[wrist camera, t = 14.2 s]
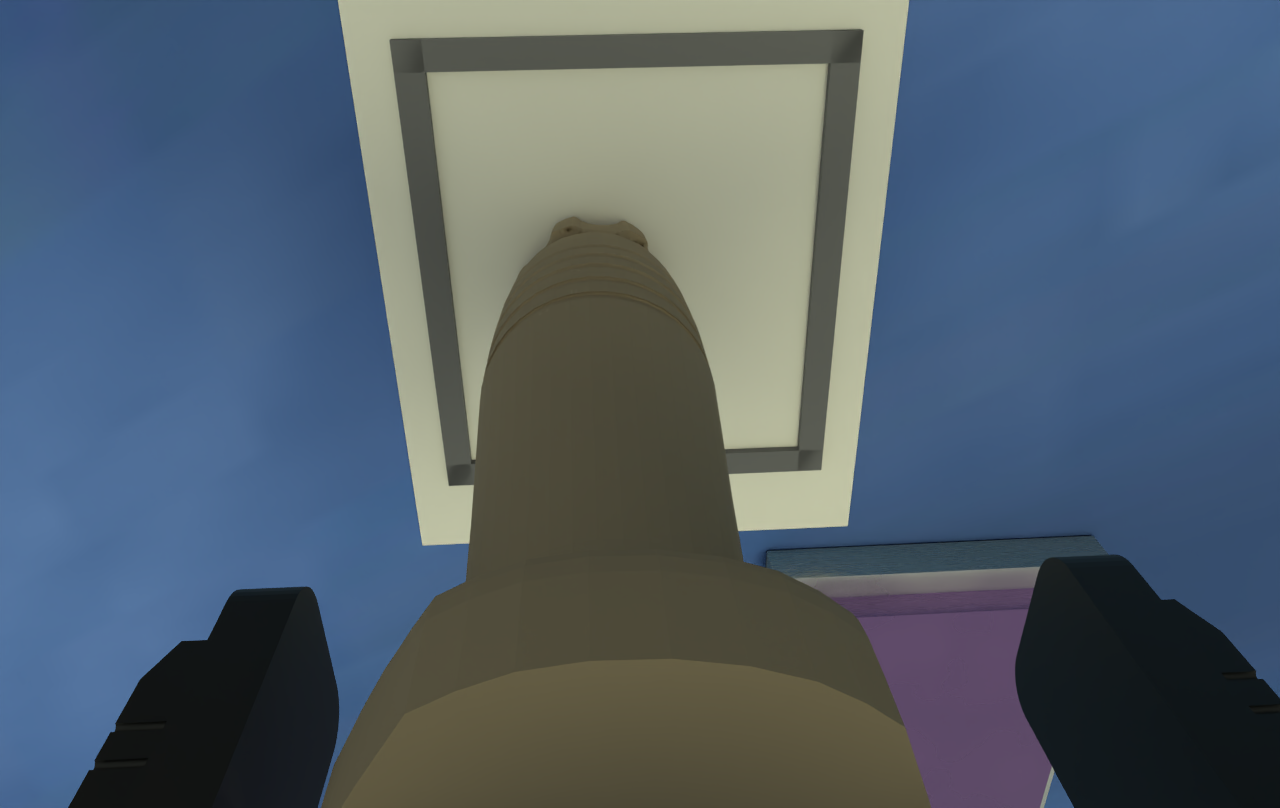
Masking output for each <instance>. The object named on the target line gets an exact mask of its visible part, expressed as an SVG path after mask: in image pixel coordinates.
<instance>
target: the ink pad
mask: <svg viewBox="0 0 1280 808" xmlns="http://www.w3.org/2000/svg"><path fill="white" fill-rule="evenodd" d="M1094 555H1109V554H1108V553H1107V552H1106V551H1105V550H1104V548H1103V547H1102V546H1101V545H1100V544H1099V542H1098V541H1097V540H1096V539H1095V537H1094V536H1076V537H1054V538H1033V539H1011V540H990V541H968V542H947V543H926V544H904V545H883V546H861V547H840V548H818V549H797V550H776V551H767V556H766V568H769V569H773V570H777V571H780V572H782V573H784V574H786V575H788V576H790V577H792V578H794V579H796V580H798V581H800V582H802V583H804V584H806V585H808V586H810V587H812V588H814V589H816V590H819V591H820V592H822V593H823V594H825V595H826V596H828V597H829V598H831V599H832V600H834V601H835V602H837V603H838V604H839V605H841V606H842V607H844V608H845V609H847V610H848V611H850V612H851V613H853V614H854V616H855V617H856V618H857V619H858V620H859V622H860V623H861V625H862V627H863V629H864V631H865V632H866V634H867V636H868V638H869V640H870V643H871V645H872V647H873V650H874V652H875V654H876V657H877V659H878V661H879V664H880V666H881V669H882V671H883V673H884V676H885V678H886V681H887V683H888V686H889V688H890V691H891V693H892V696H893V698H894V701H895V703H896V706H897V708H898V711H899V713H900V716H901V718H902V721H903V723H904V726H905V728H906V731H907V734H908V737H909V740H910V743H911V746H912V750H913V753H914V756H915V759H916V762H917V765H918V768H919V771H920V774H921V777H922V780H923V783H924V786H925V789H926V792H927V795H928V798H929V802H930V805H931V808H1044V805H1045V802H1046V798H1047V795H1048V791H1049V788H1050V785H1051V781H1052V778H1053V774H1054V769H1053V767H1052V765H1051V764H1050V762H1049V760H1048V758H1047V756H1046V754H1045V752H1044V751H1043V749H1042V747H1041V745H1040V743H1039V741H1038V740H1037V738H1036V736H1035V734H1034V732H1033V730H1032V728H1031V727H1030V725H1029V723H1028V721H1027V719H1026V717H1025V715H1024V713H1023V710H1022V708H1021V705H1020V702H1019V698H1018V694H1017V689H1016V682H1015V662H1016V656H1017V652H1018V648H1019V644H1020V640H1021V636H1022V633H1023V629H1024V625H1025V621H1026V617H1027V613H1028V609H1029V606H1030V602H1031V598H1032V594H1033V590H1034V586H1035V582H1036V578H1037V575H1038V571H1039V569H1040V567H1041V565H1042V563H1043V562H1044V561H1045V560H1046V559H1048V558H1051V557H1070V556H1094Z"/></svg>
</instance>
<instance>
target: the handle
mask: <svg viewBox="0 0 1280 808" xmlns="http://www.w3.org/2000/svg"><path fill="white" fill-rule="evenodd" d="M321 808H931V805H930V802H929V798H928V795H927V792H926V789H925V786H924V783H923V780H922V777H921V774H920V771H919V768H918V765H917V762H916V759H915V756H914V753H913V750H912V746H911V743H910V740H909V737H908V734H907V731H906V728H905V726H904V723H903V721H902V718H901V716H900V713H899V711H898V708H897V706H896V703H895V701H894V698H893V696H892V693H891V691H890V688H889V686H888V683H887V681H886V678H885V676H884V673H883V671H882V669H881V666H880V664H879V661H878V659H877V657H876V654H875V652H874V650H873V647H872V645H871V643H870V640H869V638H868V636H867V634H866V632H865V631H864V629H863V627H862V625H861V623H860V622H859V620H858V619H857V618H856V617H855V616H854V614H853V613H851V612H850V611H848V610H847V609H845V608H844V607H842V606H841V605H839V604H838V603H837V602H835V601H834V600H832V599H831V598H829V597H828V596H826V595H825V594H823V593H822V592H820V591H819V590H816V589H814V588H812V587H810V586H808V585H806V584H804V583H802V582H800V581H798V580H796V579H794V578H792V577H790V576H788V575H786V574H784V573H782V572H780V571H777V570H773V569H769V568H765V567H761V566H757V565H753V564H749V563H746V562H743V556H742V550H741V545H740V539H739V533H738V527H737V522H736V516H735V510H734V504H733V499H732V492H731V486H730V479H729V473H728V467H727V460H726V454H725V448H724V441H723V435H722V428H721V422H720V416H719V409H718V403H717V397H716V390H715V384H714V381H713V377H712V373H711V370H710V367H709V363H708V360H707V357H706V353H705V350H704V347H703V343H702V340H701V337H700V334H699V332H698V328H697V326H696V324H695V321H694V319H693V317H692V315H691V312H690V310H689V308H688V306H687V304H686V302H685V299H684V297H683V295H682V293H681V291H680V289H679V288H678V286H677V284H676V283H675V281H674V280H673V278H672V277H671V275H670V274H669V273H668V271H667V270H666V268H665V267H664V266H663V265H662V264H661V263H660V261H659V260H658V259H656V258H655V257H654V256H653V255H652V254H651V253H650V252H649V251H648V243H647V240H646V238H645V236H644V234H643V233H642V232H641V231H640V230H639V229H638V228H636V227H635V226H633V225H632V224H630V223H628V222H626V221H620V222H619V223H617V224H612V225H595V224H589V223H586V222H583V221H581V220H580V219H578V218H577V217H570V218H567V219H564V220H562V221H560V222H558V223H556V225H555V226H554V228H553V229H552V232H551V236H550V240H549V242H548V244H547V245H546V247H545V248H544V249H542V250H541V251H539V252H538V253H537V254H536V255H535V256H534V257H533V258H532V259H531V260H530V262H529V263H528V264H527V265H525V266H524V267H523V268H522V269H521V271H520V272H519V274H518V277H517V279H516V281H515V283H514V285H513V287H512V289H511V291H510V293H509V295H508V297H507V299H506V301H505V303H504V307H503V309H502V312H501V315H500V318H499V321H498V324H497V326H496V329H495V333H494V336H493V340H492V343H491V348H490V351H489V356H488V360H487V365H486V369H485V373H484V378H483V383H482V387H481V396H480V406H479V420H478V434H477V448H476V461H475V475H474V489H473V503H472V517H471V529H470V541H469V552H468V563H467V575H466V582H465V583H463V584H460V585H458V586H456V587H454V588H452V589H450V590H448V591H446V592H444V593H442V594H440V595H437V596H435V598H434V599H433V600H432V602H431V603H430V605H429V606H428V607H427V609H426V610H425V611H424V613H423V614H422V616H421V617H420V618H419V620H418V621H417V622H416V624H415V625H414V627H413V628H412V629H411V631H410V632H409V634H408V635H407V637H406V639H405V640H404V642H403V643H402V645H401V646H400V648H399V649H398V651H397V652H396V654H395V655H394V657H393V658H392V660H391V661H390V663H389V664H388V665H387V667H386V668H385V670H384V672H383V674H382V675H381V677H380V679H379V681H378V682H377V684H376V686H375V688H374V689H373V691H372V693H371V695H370V696H369V698H368V700H367V702H366V703H365V705H364V707H363V709H362V711H361V713H360V715H359V717H358V719H357V721H356V723H355V725H354V727H353V729H352V731H351V733H350V735H349V737H348V739H347V741H346V743H345V745H344V747H343V749H342V750H341V752H340V754H339V756H338V758H337V760H336V762H335V764H334V767H333V770H332V773H331V777H330V780H329V783H328V787H327V790H326V793H325V797H324V800H323V803H322V807H321Z"/></svg>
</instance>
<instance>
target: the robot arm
mask: <svg viewBox="0 0 1280 808" xmlns="http://www.w3.org/2000/svg"><path fill="white" fill-rule="evenodd" d="M1015 682H1016V689H1017V694H1018V698H1019V702H1020V705H1021V708H1022V710H1023V713H1024V715H1025V717H1026V719H1027V721H1028V723H1029V725H1030V727H1031V728H1032V730H1033V732H1034V734H1035V736H1036V738H1037V740H1038V741H1039V743H1040V745H1041V747H1042V749H1043V751H1044V752H1045V754H1046V756H1047V758H1048V760H1049V762H1050V764H1051V765H1052V767H1053V769H1054V771H1055V773H1056V775H1057V777H1058V778H1059V780H1060V782H1061V784H1062V786H1063V788H1064V790H1065V791H1066V793H1067V795H1068V797H1069V799H1070V801H1071V802H1072V804H1073V806H1074V808H1280V698H1279V697H1278V696H1277V695H1276V694H1275V692H1274V691H1273V690H1272V689H1271V688H1270V687H1269V685H1268V684H1267V683H1266V682H1265V681H1264V680H1263V679H1257V677H1256V671H1255V669H1254V668H1253V667H1252V666H1251V665H1250V664H1249V662H1248V661H1247V660H1246V659H1245V658H1244V657H1243V656H1242V654H1241V653H1240V652H1239V651H1238V650H1237V649H1236V647H1235V646H1234V645H1233V644H1232V643H1231V642H1230V641H1229V639H1228V638H1227V637H1226V636H1225V635H1224V634H1223V633H1222V632H1221V631H1220V630H1218V629H1217V628H1216V627H1214V626H1213V625H1211V624H1210V623H1208V622H1207V621H1205V620H1204V619H1202V618H1201V617H1199V616H1198V615H1197V614H1195V613H1194V612H1192V611H1191V610H1189V609H1188V608H1186V607H1185V606H1183V605H1182V604H1181V603H1179V602H1178V601H1176V600H1175V599H1171V600H1161V599H1160V598H1159V597H1158V595H1157V594H1156V593H1155V592H1154V591H1153V589H1152V588H1151V587H1150V586H1149V584H1148V583H1147V582H1146V581H1145V580H1144V578H1143V577H1142V576H1141V575H1140V574H1139V572H1138V571H1137V570H1136V569H1135V567H1134V566H1133V565H1132V564H1131V563H1130V562H1129V561H1128V560H1127V559H1125V558H1124V557H1122V556H1120V555H1094V556H1070V557H1051V558H1048V559H1046V560H1045V561H1044V562H1043V563H1042V565H1041V567H1040V569H1039V571H1038V575H1037V578H1036V582H1035V586H1034V590H1033V594H1032V598H1031V602H1030V606H1029V609H1028V613H1027V617H1026V621H1025V625H1024V629H1023V633H1022V636H1021V640H1020V644H1019V648H1018V652H1017V656H1016V662H1015ZM338 723H339V697H338V690H337V684H336V680H335V676H334V671H333V667H332V663H331V658H330V654H329V650H328V646H327V641H326V637H325V633H324V628H323V624H322V620H321V615H320V611H319V607H318V603H317V599H316V596H315V594H314V592H313V590H312V589H311V588H310V587H286V588H262V589H240V590H236V591H235V592H233V593H232V594H231V596H230V597H229V599H228V600H227V602H226V604H225V606H224V608H223V610H222V612H221V614H220V616H219V618H218V620H217V622H216V624H215V626H214V628H213V630H212V632H211V634H210V636H209V638H208V640H200V641H181V642H180V643H179V644H178V645H177V646H176V647H175V648H174V649H173V650H172V651H170V652H169V653H168V654H167V655H166V656H165V657H164V658H163V659H162V660H161V661H160V662H159V663H157V664H156V665H155V666H154V667H153V668H152V669H151V670H150V671H149V672H148V673H147V674H146V675H145V676H143V677H142V678H141V679H140V681H139V682H138V684H137V686H136V688H135V690H134V691H133V693H132V695H131V697H130V698H129V700H128V702H127V704H126V706H125V707H124V709H123V711H122V713H121V714H120V716H119V718H118V720H117V722H116V723H115V724H116V729H115V732H110V734H109V736H108V738H107V739H106V741H105V743H104V745H103V747H102V748H101V750H100V752H99V754H98V755H97V757H96V759H95V767H94V770H89V771H88V773H87V775H86V777H85V779H84V780H83V782H82V784H81V786H80V788H79V789H78V791H77V793H76V795H75V796H74V798H73V800H72V802H71V804H70V805H69V807H68V808H318V804H319V801H320V797H321V794H322V790H323V787H324V783H325V780H326V776H327V773H328V769H329V766H330V763H331V759H332V756H333V752H334V748H335V744H336V739H337V732H338Z"/></svg>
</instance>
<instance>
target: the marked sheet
mask: <svg viewBox="0 0 1280 808" xmlns="http://www.w3.org/2000/svg"><path fill="white" fill-rule="evenodd" d="M338 4H339V11H340V17H341V24H342V30H343V37H344V43H345V49H346V56H347V62H348V69H349V75H350V82H351V88H352V94H353V101H354V107H355V114H356V120H357V127H358V133H359V140H360V146H361V152H362V159H363V165H364V172H365V178H366V185H367V191H368V198H369V204H370V210H371V217H372V223H373V230H374V236H375V243H376V249H377V256H378V262H379V268H380V275H381V281H382V288H383V294H384V301H385V307H386V313H387V320H388V326H389V333H390V339H391V346H392V352H393V359H394V365H395V371H396V378H397V384H398V391H399V397H400V404H401V410H402V417H403V423H404V429H405V436H406V442H407V449H408V455H409V462H410V468H411V474H412V481H413V487H414V494H415V500H416V507H417V513H418V520H419V526H420V532H421V539H422V545H442V544H464V543H469V541H470V529H471V517H472V503H473V489H474V475H475V461H476V448H477V434H478V420H479V406H480V396H481V387H482V383H483V378H484V373H485V369H486V365H487V360H488V356H489V351H490V348H491V343H492V340H493V336H494V333H495V329H496V326H497V324H498V321H499V318H500V315H501V312H502V309H503V307H504V303H505V301H506V299H507V297H508V295H509V293H510V291H511V289H512V287H513V285H514V283H515V281H516V279H517V277H518V274H519V272H520V271H521V269H522V268H523V267H524V266H525V265H527V264H528V263H529V262H530V260H531V259H532V258H533V257H534V256H535V255H536V254H537V253H538V252H539V251H541V250H542V249H544V248H545V247H546V245H547V244H548V242H549V240H550V236H551V232H552V229H553V228H554V226H555V225H556V223H558V222H560V221H562V220H564V219H567V218H570V217H577V218H578V219H580V220H581V221H583V222H586V223H589V224H595V225H612V224H617V223H619V222H620V221H626V222H628V223H630V224H632V225H633V226H635V227H636V228H638V229H639V230H640V231H641V232H642V233H643V234H644V236H645V238H646V240H647V243H648V251H649V252H650V253H651V254H652V255H653V256H654V257H655V258H656V259H658V260H659V261H660V263H661V264H662V265H663V266H664V267H665V268H666V270H667V271H668V273H669V274H670V275H671V277H672V278H673V280H674V281H675V283H676V284H677V286H678V288H679V289H680V291H681V293H682V295H683V297H684V299H685V302H686V304H687V306H688V308H689V310H690V312H691V315H692V317H693V319H694V321H695V324H696V326H697V328H698V332H699V334H700V337H701V340H702V343H703V347H704V350H705V353H706V357H707V360H708V363H709V367H710V370H711V373H712V377H713V381H714V384H715V390H716V397H717V403H718V409H719V416H720V422H721V428H722V435H723V441H724V448H725V454H726V460H727V467H728V473H729V479H730V486H731V492H732V499H733V504H734V510H735V516H736V522H737V527H738V531H750V530H772V529H794V528H816V527H837V526H848V519H849V510H850V502H851V493H852V484H853V476H854V467H855V459H856V450H857V442H858V433H859V425H860V416H861V407H862V399H863V390H864V382H865V373H866V365H867V356H868V348H869V339H870V331H871V322H872V313H873V305H874V296H875V288H876V279H877V271H878V262H879V254H880V245H881V236H882V228H883V219H884V211H885V202H886V194H887V185H888V177H889V168H890V159H891V151H892V142H893V134H894V125H895V117H896V108H897V100H898V91H899V83H900V74H901V65H902V57H903V48H904V40H905V31H906V23H907V14H908V6H909V0H338Z"/></svg>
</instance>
